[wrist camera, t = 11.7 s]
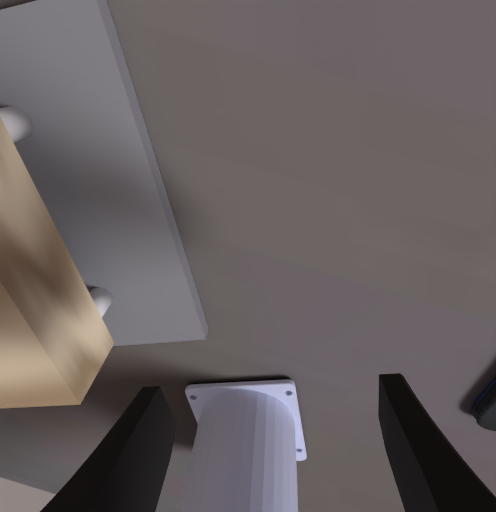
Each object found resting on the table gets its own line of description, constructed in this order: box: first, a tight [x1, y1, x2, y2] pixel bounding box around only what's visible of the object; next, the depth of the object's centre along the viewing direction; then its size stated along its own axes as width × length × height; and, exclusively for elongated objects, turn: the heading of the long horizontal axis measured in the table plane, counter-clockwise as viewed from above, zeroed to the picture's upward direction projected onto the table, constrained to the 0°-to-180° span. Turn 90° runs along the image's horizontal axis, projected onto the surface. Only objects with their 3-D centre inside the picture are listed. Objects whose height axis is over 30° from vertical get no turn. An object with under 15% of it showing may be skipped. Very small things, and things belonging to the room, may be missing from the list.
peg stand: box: [0, 0, 208, 346], centre depth 18 cm, size 18×14×3 cm
